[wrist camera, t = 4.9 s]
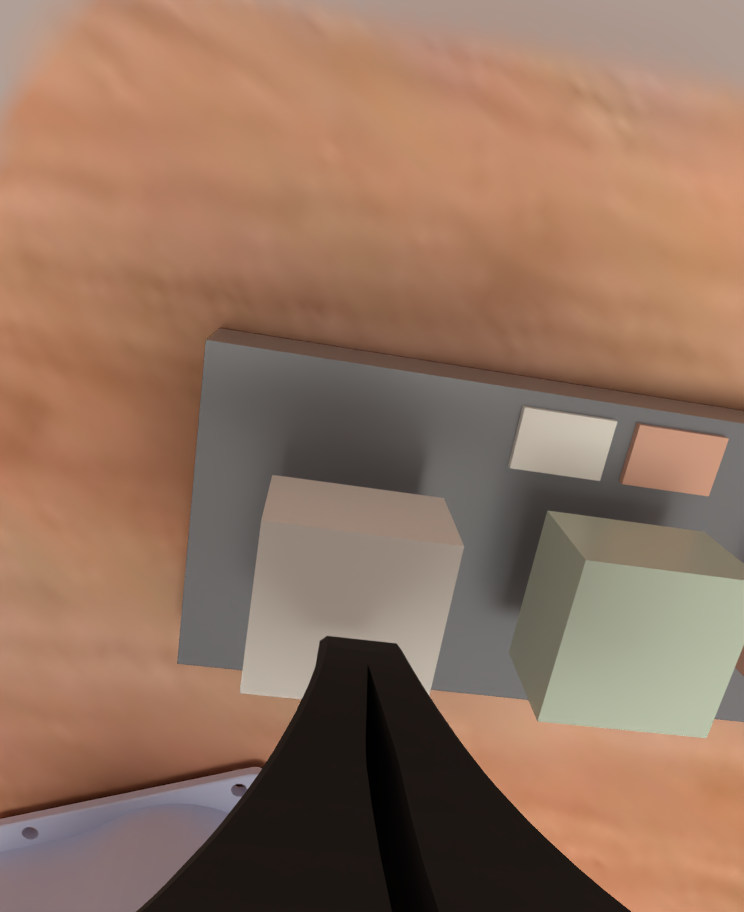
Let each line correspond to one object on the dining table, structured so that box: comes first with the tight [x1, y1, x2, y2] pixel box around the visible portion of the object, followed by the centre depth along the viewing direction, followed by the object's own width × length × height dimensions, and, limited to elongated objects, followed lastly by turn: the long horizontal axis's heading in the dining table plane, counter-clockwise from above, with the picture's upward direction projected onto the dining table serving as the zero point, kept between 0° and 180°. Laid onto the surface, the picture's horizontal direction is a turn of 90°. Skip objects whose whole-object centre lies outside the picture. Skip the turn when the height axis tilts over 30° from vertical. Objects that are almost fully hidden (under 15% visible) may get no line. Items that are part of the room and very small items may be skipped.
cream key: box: [240, 475, 464, 699], centre depth 15 cm, size 4×4×2 cm
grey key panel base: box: [177, 328, 744, 722], centre depth 19 cm, size 21×9×2 cm, turn 80°
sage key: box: [509, 510, 744, 738], centre depth 15 cm, size 4×4×2 cm
